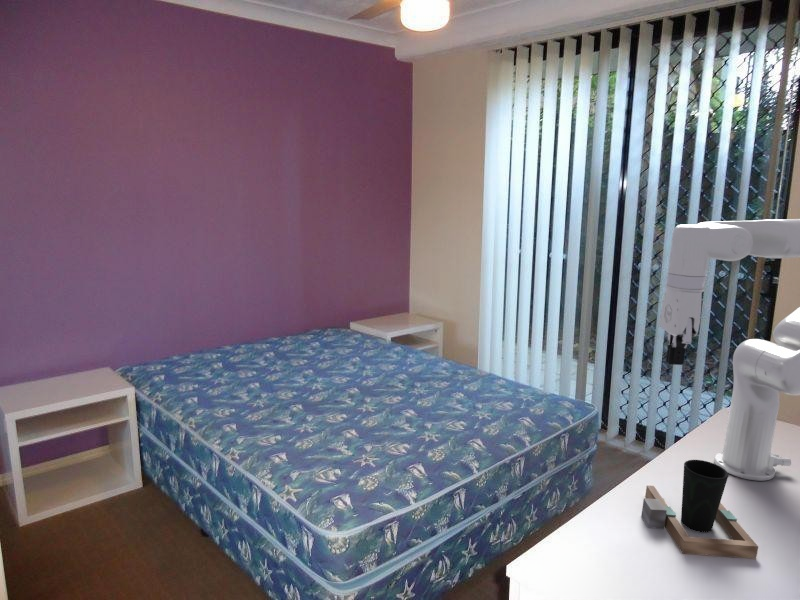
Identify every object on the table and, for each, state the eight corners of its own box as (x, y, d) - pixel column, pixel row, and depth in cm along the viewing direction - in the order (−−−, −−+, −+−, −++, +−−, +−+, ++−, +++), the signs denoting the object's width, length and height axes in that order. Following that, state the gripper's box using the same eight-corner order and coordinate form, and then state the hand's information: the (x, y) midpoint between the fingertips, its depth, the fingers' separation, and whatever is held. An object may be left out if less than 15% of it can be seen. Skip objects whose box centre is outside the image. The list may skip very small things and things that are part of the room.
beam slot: (708, 500, 123) (710, 483, 122) (756, 558, 104) (760, 539, 103) (628, 494, 124) (630, 477, 123) (662, 552, 105) (665, 532, 104)
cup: (723, 539, 109) (733, 481, 107) (679, 531, 111) (689, 474, 109) (712, 517, 117) (721, 463, 114) (671, 510, 118) (680, 456, 116)
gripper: (655, 275, 131) (645, 352, 135) (681, 287, 117) (670, 373, 120) (688, 277, 131) (678, 354, 135) (720, 289, 116) (706, 375, 120)
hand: (674, 363), depth 127 cm, fingers closed
